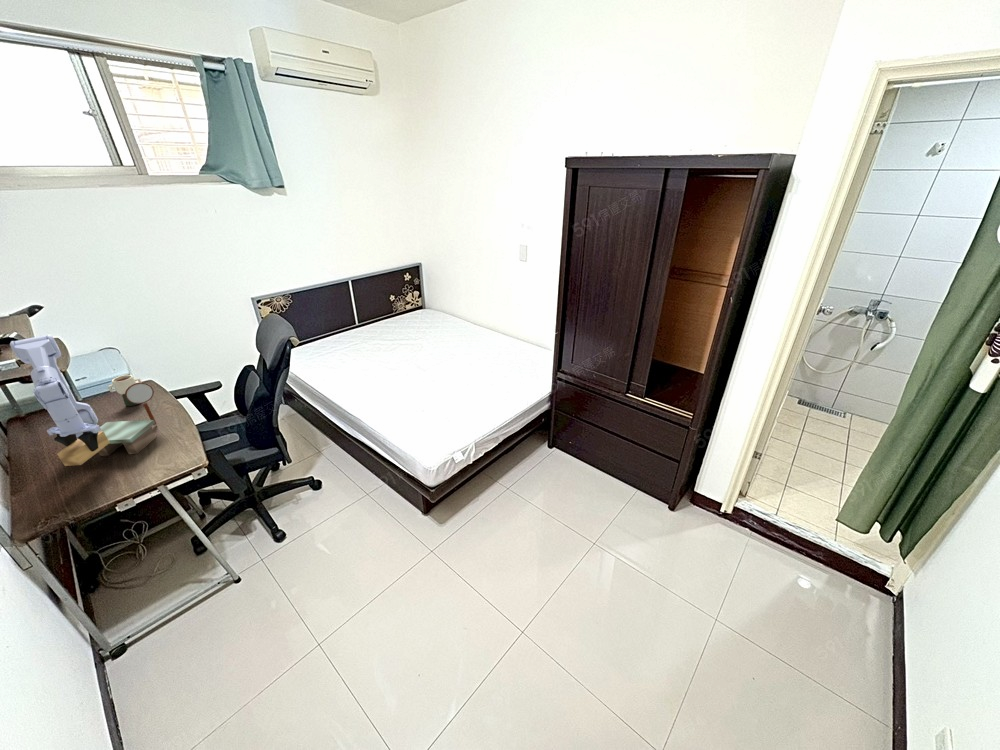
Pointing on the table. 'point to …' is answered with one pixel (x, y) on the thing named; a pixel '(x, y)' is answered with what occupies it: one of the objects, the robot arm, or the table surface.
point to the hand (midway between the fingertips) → (86, 450)
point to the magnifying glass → (140, 396)
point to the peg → (81, 451)
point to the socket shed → (127, 435)
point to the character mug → (123, 386)
